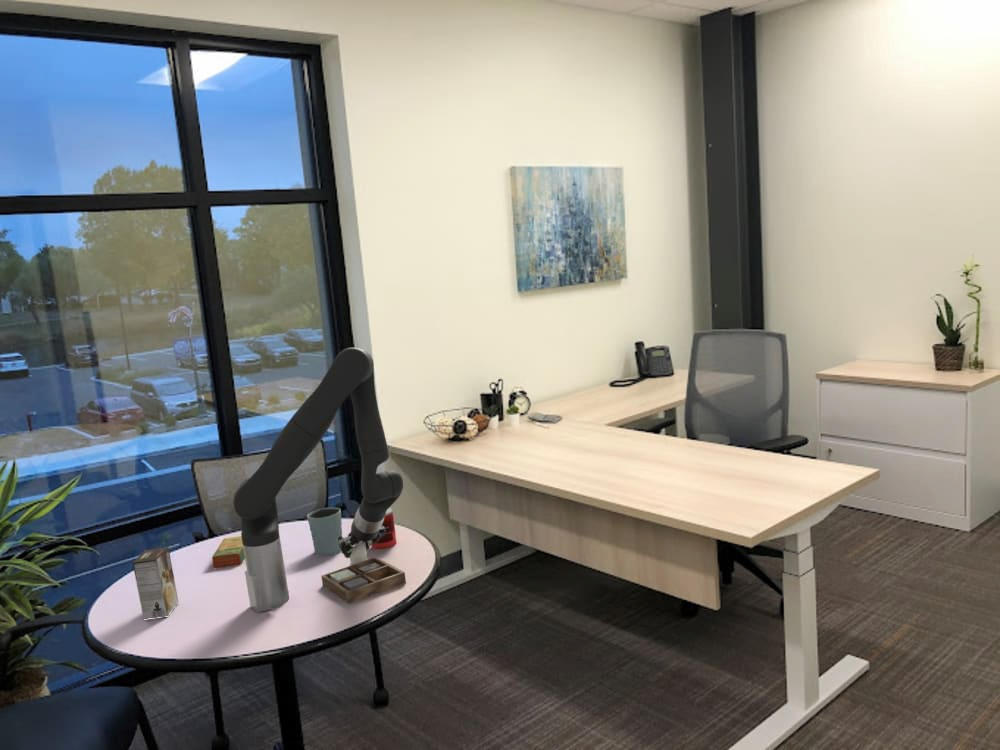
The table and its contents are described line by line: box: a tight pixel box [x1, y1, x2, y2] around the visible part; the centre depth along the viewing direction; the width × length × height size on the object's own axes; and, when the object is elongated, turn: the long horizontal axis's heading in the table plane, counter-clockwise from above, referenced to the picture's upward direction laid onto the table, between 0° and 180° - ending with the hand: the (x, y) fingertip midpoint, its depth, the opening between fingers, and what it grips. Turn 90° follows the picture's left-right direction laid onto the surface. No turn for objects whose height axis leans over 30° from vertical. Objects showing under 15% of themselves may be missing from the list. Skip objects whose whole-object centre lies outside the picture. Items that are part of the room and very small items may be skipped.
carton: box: [211, 535, 245, 569], centre depth 247 cm, size 8×16×4 cm, turn 6°
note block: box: [330, 569, 356, 582], centre depth 214 cm, size 5×5×3 cm
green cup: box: [306, 507, 343, 557], centre depth 243 cm, size 10×10×12 cm
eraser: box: [343, 577, 368, 591], centre depth 207 cm, size 5×4×3 cm
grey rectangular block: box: [358, 563, 381, 573], centre depth 218 cm, size 5×4×2 cm
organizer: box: [320, 557, 407, 604], centre depth 213 cm, size 16×16×4 cm
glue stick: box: [349, 542, 369, 566], centre depth 226 cm, size 5×5×10 cm
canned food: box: [370, 507, 397, 550], centre depth 241 cm, size 8×8×11 cm
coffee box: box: [132, 546, 180, 620], centre depth 210 cm, size 9×6×16 cm
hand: (355, 552), depth 227 cm, fingers closed on glue stick, 4 cm apart
